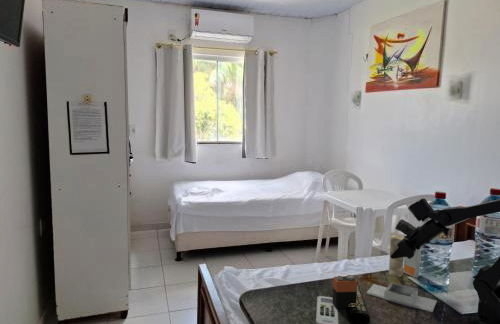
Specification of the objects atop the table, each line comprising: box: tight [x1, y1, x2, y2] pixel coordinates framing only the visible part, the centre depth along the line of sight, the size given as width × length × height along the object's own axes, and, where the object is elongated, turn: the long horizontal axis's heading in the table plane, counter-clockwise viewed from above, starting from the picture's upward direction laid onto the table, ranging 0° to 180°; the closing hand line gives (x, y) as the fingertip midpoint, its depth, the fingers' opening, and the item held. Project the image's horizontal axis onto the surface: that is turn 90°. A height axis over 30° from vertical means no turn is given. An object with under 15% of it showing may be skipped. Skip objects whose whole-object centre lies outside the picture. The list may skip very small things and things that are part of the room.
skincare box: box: [403, 248, 421, 278], centre depth 143 cm, size 6×4×12 cm
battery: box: [331, 274, 358, 309], centre depth 116 cm, size 4×7×10 cm, turn 95°
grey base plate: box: [366, 281, 437, 313], centre depth 122 cm, size 21×9×3 cm, turn 54°
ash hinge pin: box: [388, 234, 405, 278], centre depth 131 cm, size 4×4×14 cm
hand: (392, 255), depth 132 cm, fingers closed on ash hinge pin, 4 cm apart
